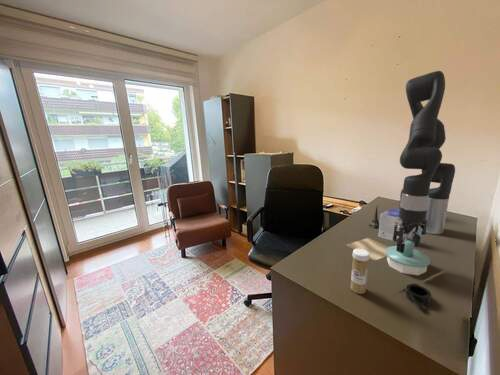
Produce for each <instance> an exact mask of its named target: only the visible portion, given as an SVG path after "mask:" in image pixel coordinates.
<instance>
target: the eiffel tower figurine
mask: <svg viewBox="0 0 500 375" xmlns="http://www.w3.org/2000/svg"><path fill="white" fill-rule="evenodd" d="M378 207H379V206H378V205H376V206H375V212H374V217H373V219H372V221H371V222H370V223H369V224H368V226H369V227H371V226H372V228H373V229H374V230H375V229H376V227H378V228H379V224H380V221H379V218H378Z"/></svg>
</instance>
